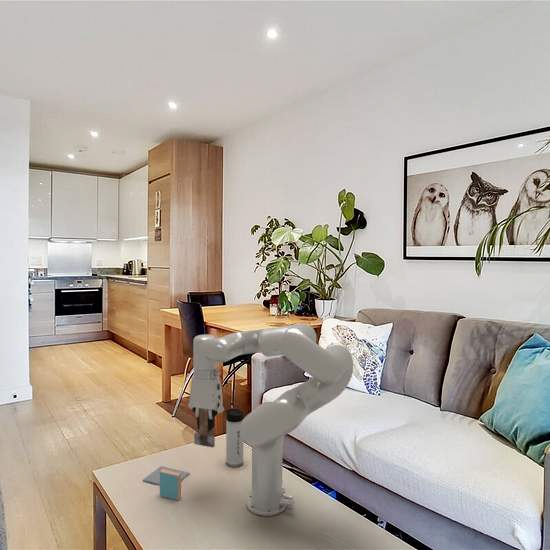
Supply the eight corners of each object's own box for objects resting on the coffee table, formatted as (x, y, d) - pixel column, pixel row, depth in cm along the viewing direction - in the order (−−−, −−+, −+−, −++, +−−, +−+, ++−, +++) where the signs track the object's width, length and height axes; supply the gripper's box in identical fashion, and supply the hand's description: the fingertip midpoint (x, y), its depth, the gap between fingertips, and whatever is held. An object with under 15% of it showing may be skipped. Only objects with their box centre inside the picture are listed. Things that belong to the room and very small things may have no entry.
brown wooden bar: (217, 443, 140) (217, 401, 139) (213, 447, 137) (212, 404, 136) (199, 440, 142) (198, 399, 141) (194, 444, 139) (193, 401, 139)
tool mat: (189, 474, 150) (189, 472, 150) (172, 488, 140) (172, 487, 140) (161, 467, 154) (161, 466, 154) (142, 481, 145) (142, 479, 145)
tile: (181, 497, 135) (181, 473, 135) (177, 500, 134) (177, 476, 133) (162, 493, 138) (162, 469, 138) (159, 496, 136) (159, 471, 136)
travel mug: (227, 458, 161) (227, 406, 160) (244, 459, 160) (245, 407, 159) (223, 466, 155) (223, 412, 154) (241, 468, 154) (241, 414, 153)
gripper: (233, 372, 139) (233, 428, 140) (190, 367, 145) (190, 421, 146) (222, 379, 132) (222, 437, 133) (177, 373, 138) (178, 429, 139)
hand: (205, 428), depth 139 cm, fingers closed on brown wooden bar, 3 cm apart
